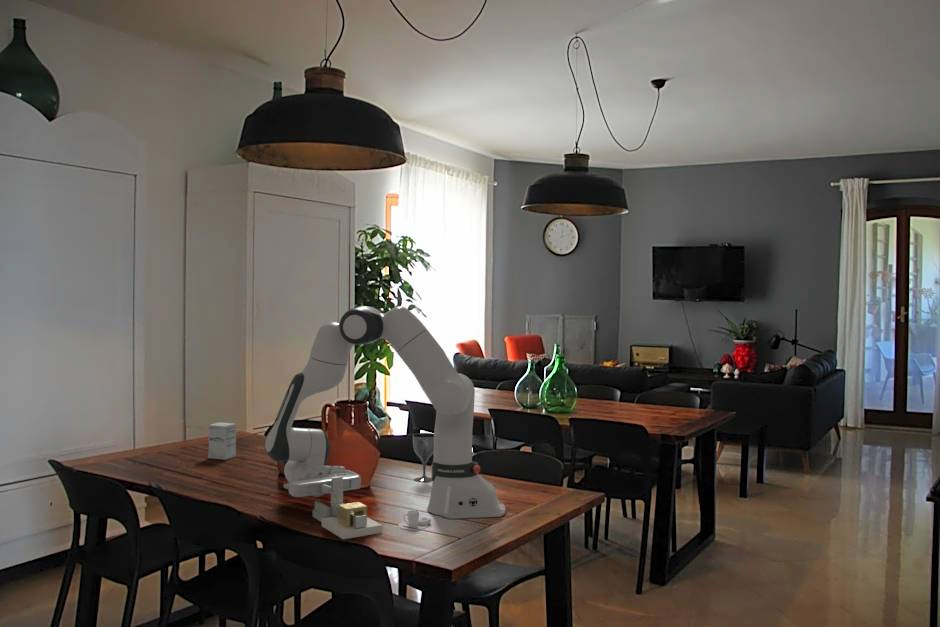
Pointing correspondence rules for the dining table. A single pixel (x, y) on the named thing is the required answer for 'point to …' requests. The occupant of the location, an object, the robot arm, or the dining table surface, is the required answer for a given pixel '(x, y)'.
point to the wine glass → (423, 451)
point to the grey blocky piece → (321, 511)
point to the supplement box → (222, 441)
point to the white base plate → (351, 528)
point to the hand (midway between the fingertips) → (336, 490)
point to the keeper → (345, 512)
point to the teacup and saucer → (415, 520)
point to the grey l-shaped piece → (337, 499)
